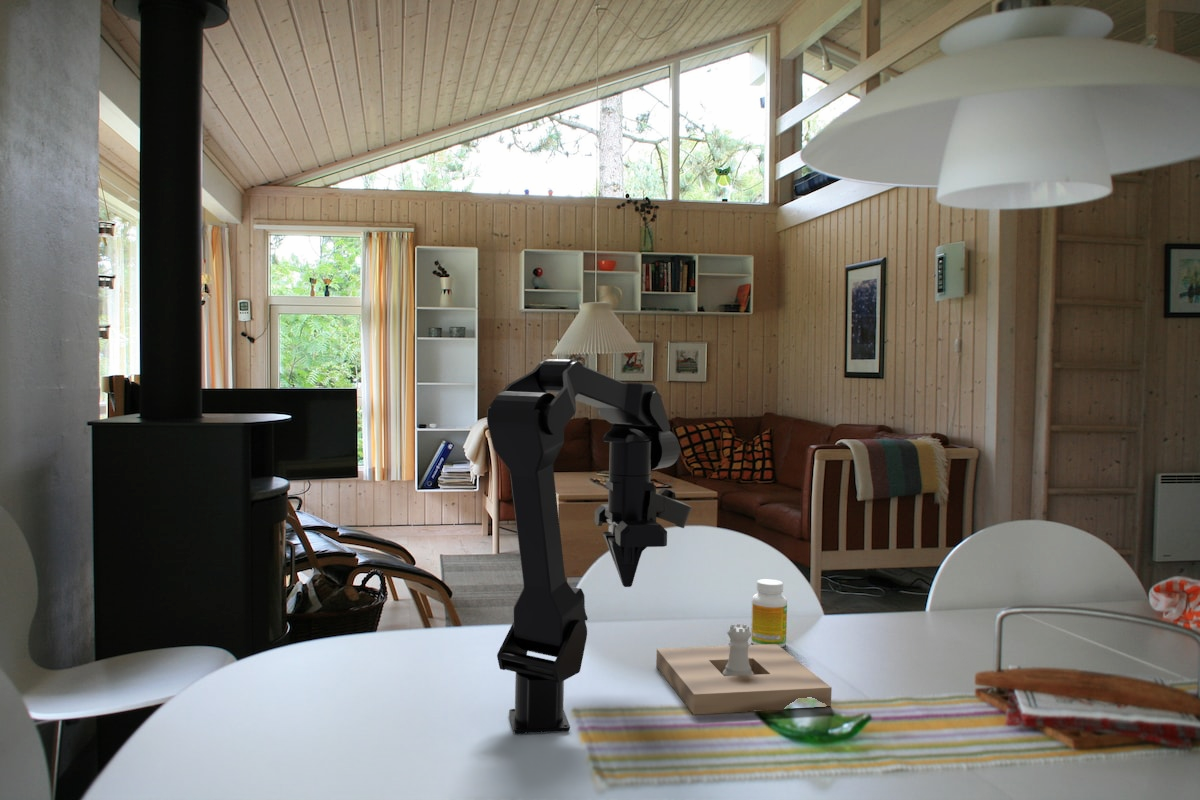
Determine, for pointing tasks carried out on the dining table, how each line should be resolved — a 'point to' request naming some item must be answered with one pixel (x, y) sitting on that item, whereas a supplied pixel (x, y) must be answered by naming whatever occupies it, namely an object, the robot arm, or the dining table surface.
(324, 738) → the dining table surface
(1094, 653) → the dining table surface
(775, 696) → the socket block
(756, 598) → the supplement bottle
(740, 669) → the rook chess piece
